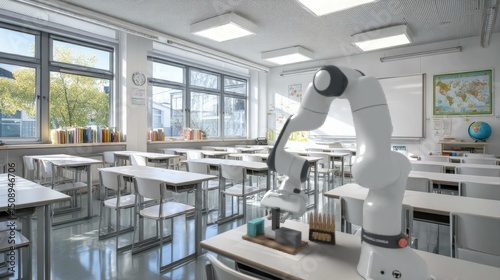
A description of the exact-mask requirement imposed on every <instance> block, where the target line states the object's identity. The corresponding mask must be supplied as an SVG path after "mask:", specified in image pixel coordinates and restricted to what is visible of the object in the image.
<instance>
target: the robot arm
mask: <svg viewBox="0 0 500 280" xmlns="http://www.w3.org/2000/svg"><path fill="white" fill-rule="evenodd" d="M336 99H341V100H348V103H349V106H350V111H351V116H352V122H353V127H354V130H355V131H354V132H355V138H356V139H355V140H356V143H355V144H356V145H355V158H354V161H353V163H352V166H351V171H350V173H351V177H352V179H353V180H354V182H355V183H356V184H357V185H358V186H360V187H361V188H365V189H368V191H367V195H366V197H365V199H364V201H363V205H362V226H361V229H360V243H361V249H360V255H359V259H358V260H359V261H358V263H357V266H356V272H357V273H358V274H359V276H361V277H363V278H364V279H365V280H437V278H436V277H435V276H434V275H432V274H430V271H429V267H428V266H429V265H428V264H427V262H426V260H425V259H424V257H422V256H421V255H420V254H419V253H417V251H415V250H414V249H413V248H411V246H410V245H409V233H407V234H405V233H404V232H403V231H402V211H403V210H402V207H403V201H404V198H405V197H404V196H405V192H406V188H407V182H408V178H409V175H410V174H411V170H412V164H411V161H410V159H409V158H408V157H407V156H406V155H405V154H403V153H401V152H399V151H396V150H392V135H393V132H394V126H393V122H392V117H391V114H390V110H389V106H388V105H389V104H388V101H387V97H386V95H385V92H384V89H383V87H382V85H381V83H380V81H379V79H378V78H377V77H375V76H372V75H366V74H365V73H364V72H362V70H360V69H356V68H355V69H354V68H351V67H348V66H343V65H334V64H333V65H332V64H328V65H323V66H321V67H319V68H318V69H317V70H316V71H315V72H314V75H313V77H312V81H310V82H309V83H308V85H307V87H306V89H305V92H304V94H303V96H302V99H301V102H300V104H299V108H298V110H297V111H296V112H295V113H293V114H291V115H289V117H288V118H287V119H286V120H285V123H284V124H283V126H282V128H281V130H280V132H279V133H278V136H277V138H276V140H275V143H274V145H273V147H272V149H271V151H270V152H269V154H268V155H267V157H266V163H265V164H266V166H267V167H268V170H269V171H271V172H274V173H278V174H280V175H284V179H283V180H282V181H281V182H280V185H279V186H278V188H277V190H274V189H270V190H268V191H266V193H265V194H264V196H263V197H262V198H261V200H260V201H259V205H260V207H261V208H262V210H266V211H267V216H266V219H267V221H272V208H274V207H279V208H280V214H284V215H283V216H280V220H279V221H280V224H285V222H286V221H287V220H288V219H290V217H291V216H294V217H298V218H301V217H304V215H305V212H306V209H307V203H308V201H309V199H308V196H307V195H306V193H305V192H304V190H302V189H301V188H302V187H303V185H305V182H307V180H308V178H309V176H310V173H311V171H312V166H311V163H310V161H309V159H307V158H305V157H303V156H299V155H296V154H294V153H291V152H288V151H286V150H285V147H286V144H287V143H288V140H289V139H290V137H291V135H292V134H293V133H296V132H311V131H314V130H318V129H320V128H321V127H322V126H323V125H324V123H326V119H327V117H328V115H329V111H330V107H331V105H332V103H333V102H334V100H336Z"/></svg>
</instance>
